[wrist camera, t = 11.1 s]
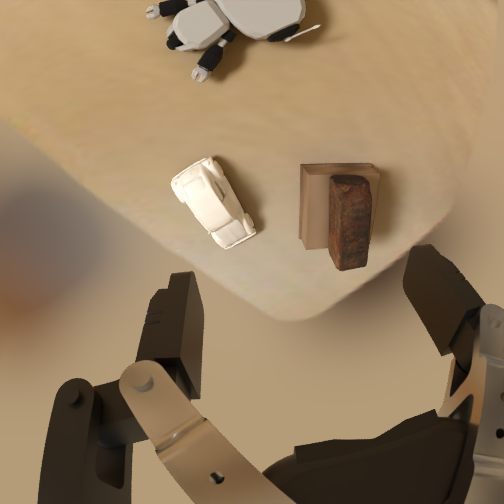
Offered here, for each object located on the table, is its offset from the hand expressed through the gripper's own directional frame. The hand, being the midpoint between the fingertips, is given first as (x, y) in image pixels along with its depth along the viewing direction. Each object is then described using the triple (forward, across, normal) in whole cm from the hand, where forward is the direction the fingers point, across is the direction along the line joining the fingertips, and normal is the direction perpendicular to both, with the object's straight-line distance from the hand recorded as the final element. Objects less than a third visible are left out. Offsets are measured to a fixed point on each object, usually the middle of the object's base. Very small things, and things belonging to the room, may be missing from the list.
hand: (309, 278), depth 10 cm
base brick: (+26, -10, +10) cm, 30 cm away
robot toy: (+27, +1, -14) cm, 31 cm away
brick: (+23, -10, +10) cm, 27 cm away
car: (+27, +6, +9) cm, 29 cm away
